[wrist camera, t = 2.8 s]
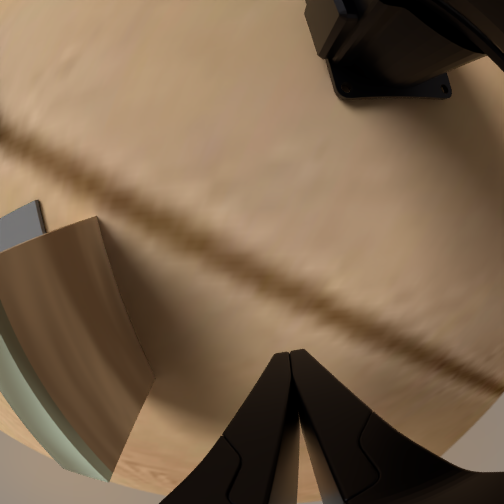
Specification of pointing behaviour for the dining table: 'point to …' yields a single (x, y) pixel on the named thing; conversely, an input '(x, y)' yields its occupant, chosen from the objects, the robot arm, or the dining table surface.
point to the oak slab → (70, 349)
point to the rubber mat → (21, 225)
